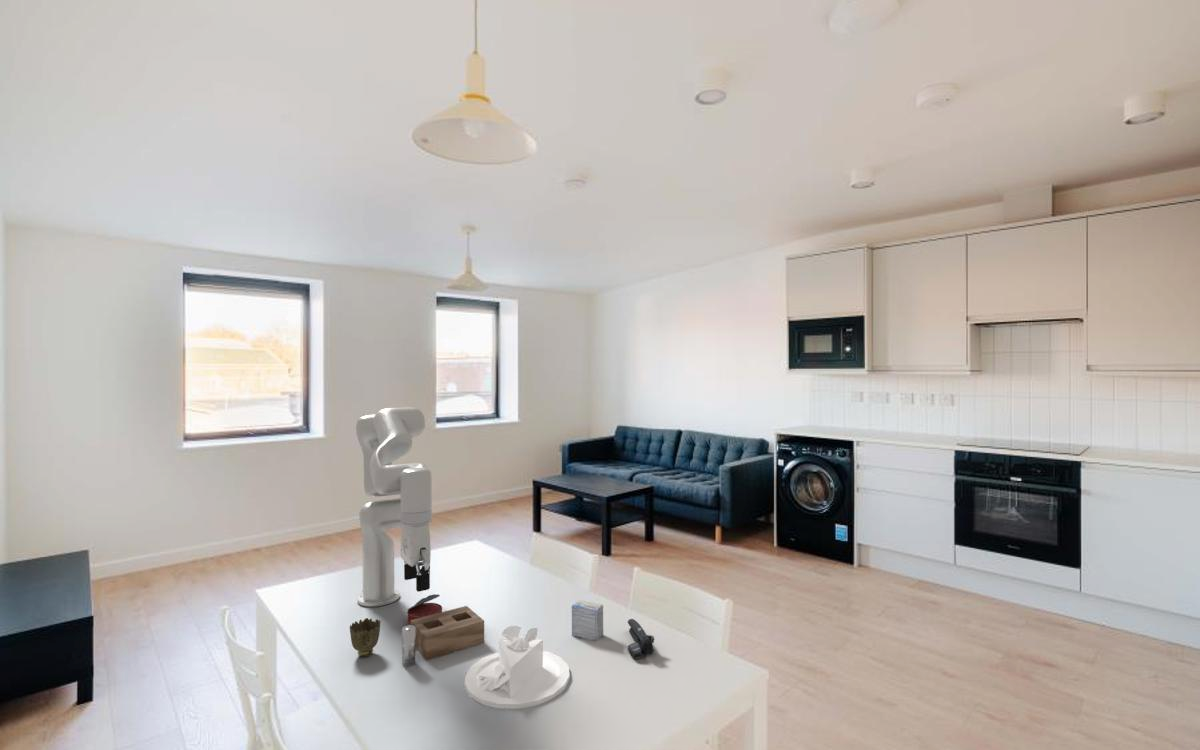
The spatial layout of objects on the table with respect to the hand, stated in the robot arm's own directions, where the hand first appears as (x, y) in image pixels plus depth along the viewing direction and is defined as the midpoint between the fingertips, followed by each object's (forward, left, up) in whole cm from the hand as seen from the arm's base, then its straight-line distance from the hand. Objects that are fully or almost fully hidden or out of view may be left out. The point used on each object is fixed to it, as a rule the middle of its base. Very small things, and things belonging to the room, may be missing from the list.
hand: (416, 584), depth 145 cm
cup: (-11, -10, -20) cm, 24 cm away
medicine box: (+14, +43, -20) cm, 49 cm away
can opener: (+27, +51, -20) cm, 61 cm away
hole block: (-5, +10, -19) cm, 22 cm away
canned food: (-23, +10, -20) cm, 32 cm away
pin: (0, -2, -19) cm, 20 cm away
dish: (+22, +17, -20) cm, 34 cm away
